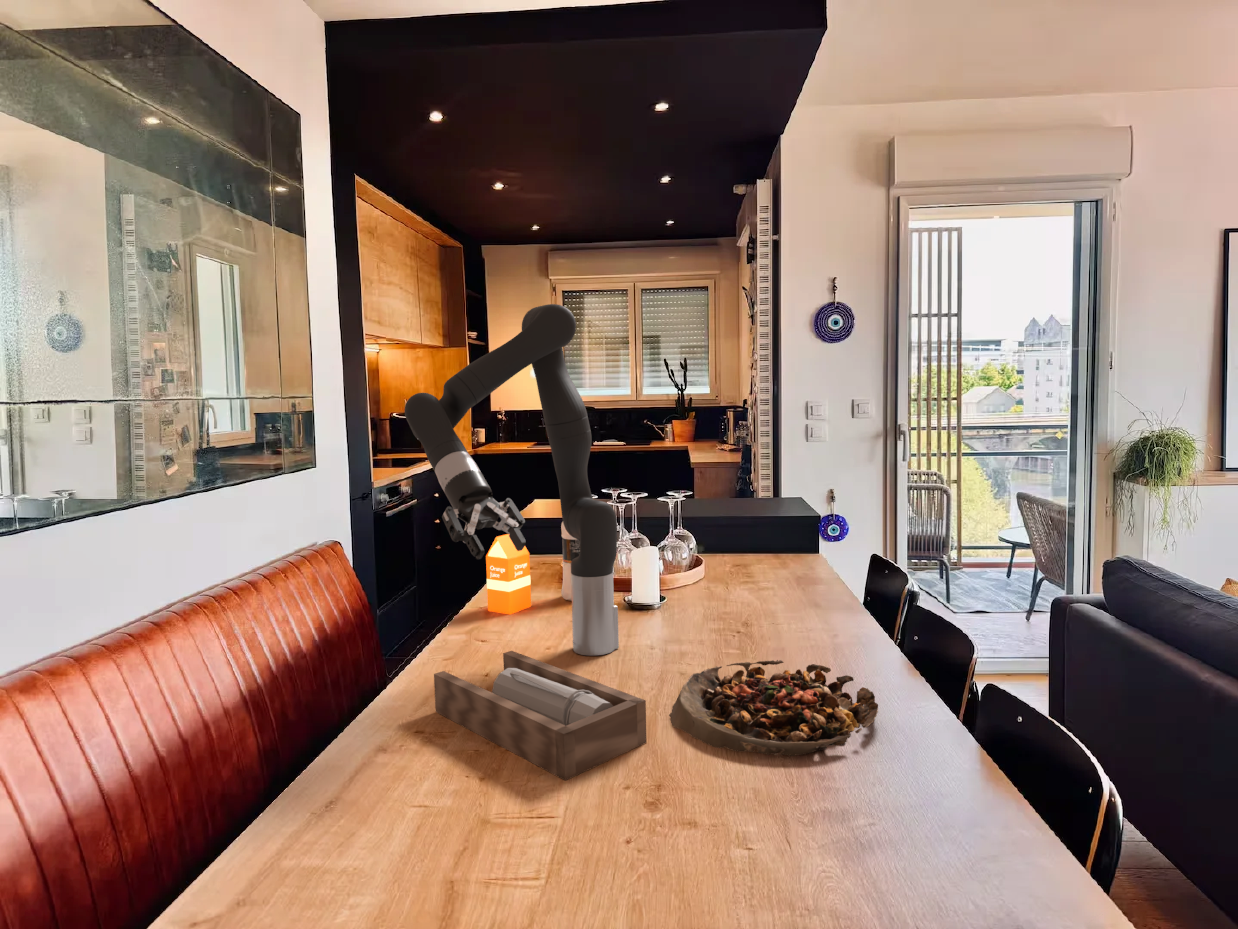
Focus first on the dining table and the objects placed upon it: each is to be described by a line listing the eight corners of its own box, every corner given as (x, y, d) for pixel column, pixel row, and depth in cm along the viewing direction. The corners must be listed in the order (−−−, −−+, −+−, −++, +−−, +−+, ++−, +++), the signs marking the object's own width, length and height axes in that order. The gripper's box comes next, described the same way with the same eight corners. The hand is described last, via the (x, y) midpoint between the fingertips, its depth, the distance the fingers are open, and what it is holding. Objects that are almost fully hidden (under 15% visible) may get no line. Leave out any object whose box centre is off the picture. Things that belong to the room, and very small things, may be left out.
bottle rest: (435, 712, 139) (433, 673, 138) (512, 685, 151) (511, 650, 150) (565, 780, 113) (564, 734, 113) (646, 742, 125) (645, 700, 124)
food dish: (878, 696, 145) (880, 656, 144) (875, 785, 114) (877, 734, 113) (694, 672, 156) (694, 634, 155) (645, 747, 125) (645, 700, 124)
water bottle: (528, 685, 145) (625, 721, 127) (499, 716, 140) (596, 758, 123) (507, 648, 141) (605, 681, 124) (477, 679, 136) (574, 717, 119)
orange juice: (531, 606, 207) (529, 532, 206) (510, 614, 200) (507, 538, 198) (509, 602, 212) (506, 530, 210) (487, 610, 204) (484, 535, 202)
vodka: (584, 591, 222) (581, 487, 219) (601, 598, 214) (598, 490, 211) (555, 597, 217) (552, 490, 214) (572, 604, 209) (569, 493, 206)
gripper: (435, 472, 135) (475, 545, 128) (502, 464, 145) (543, 532, 138) (421, 500, 139) (459, 572, 132) (487, 491, 149) (526, 558, 142)
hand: (502, 552), depth 135 cm, fingers open, 8 cm apart
